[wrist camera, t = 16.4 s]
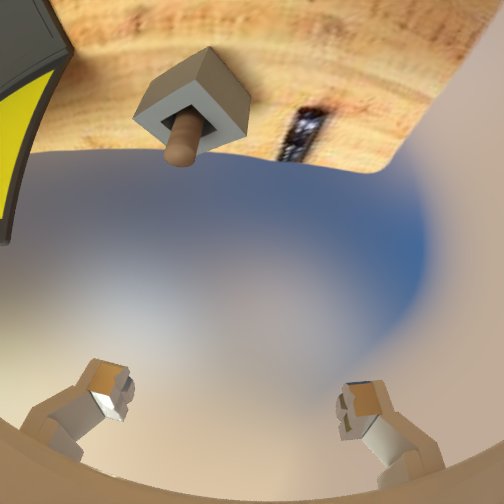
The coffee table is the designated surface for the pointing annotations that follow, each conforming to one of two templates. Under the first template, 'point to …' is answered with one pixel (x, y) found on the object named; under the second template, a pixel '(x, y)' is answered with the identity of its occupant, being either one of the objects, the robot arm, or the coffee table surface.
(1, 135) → the laptop
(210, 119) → the socket block
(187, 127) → the walnut peg
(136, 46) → the coffee table surface
